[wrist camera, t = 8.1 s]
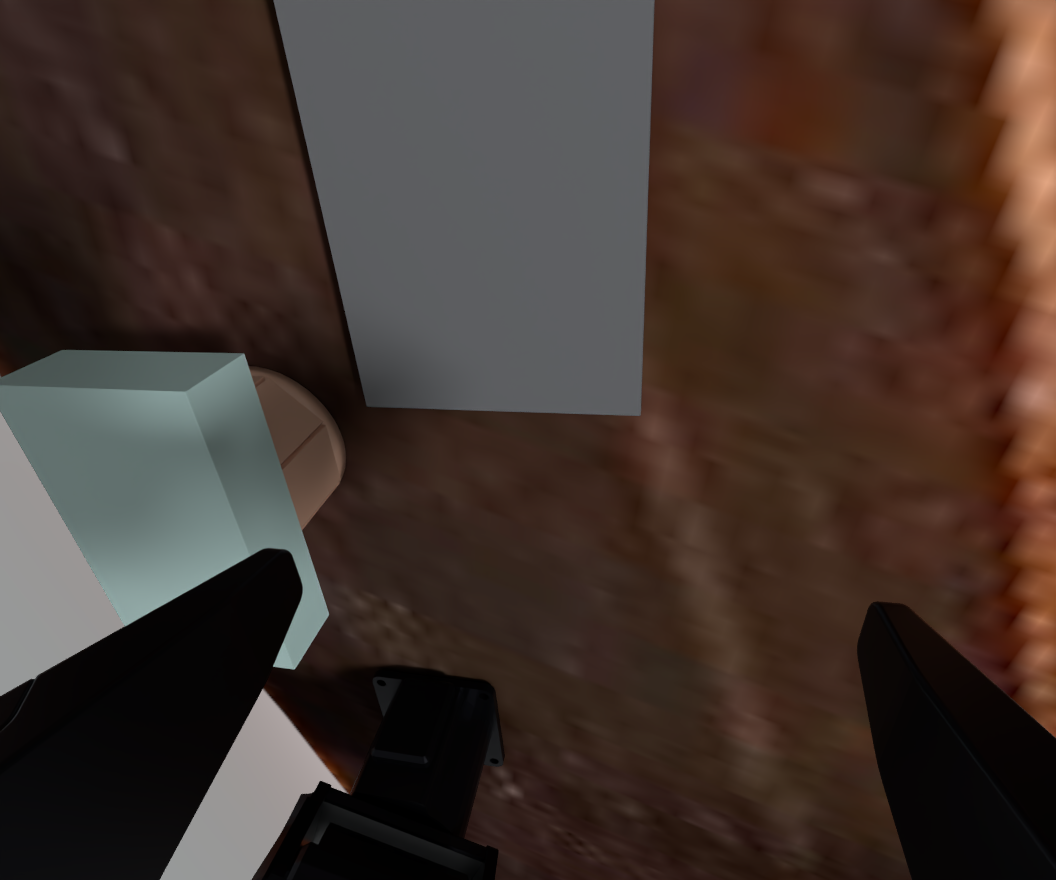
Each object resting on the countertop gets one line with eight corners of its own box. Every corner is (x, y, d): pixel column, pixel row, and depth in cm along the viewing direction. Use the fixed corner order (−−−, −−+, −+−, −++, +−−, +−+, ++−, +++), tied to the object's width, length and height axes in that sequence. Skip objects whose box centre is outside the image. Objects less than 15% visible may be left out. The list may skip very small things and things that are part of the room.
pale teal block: (329, 614, 23) (294, 669, 21) (183, 597, 25) (137, 648, 23) (244, 353, 18) (185, 391, 16) (62, 349, 19) (-16, 384, 17)
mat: (640, 407, 21) (640, 416, 20) (373, 399, 23) (366, 406, 22) (658, -139, 14) (658, -147, 13) (266, -81, 16) (253, -85, 15)
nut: (361, 508, 26) (315, 572, 22) (226, 498, 27) (164, 558, 24) (324, 367, 22) (264, 418, 19) (172, 364, 24) (91, 411, 20)
